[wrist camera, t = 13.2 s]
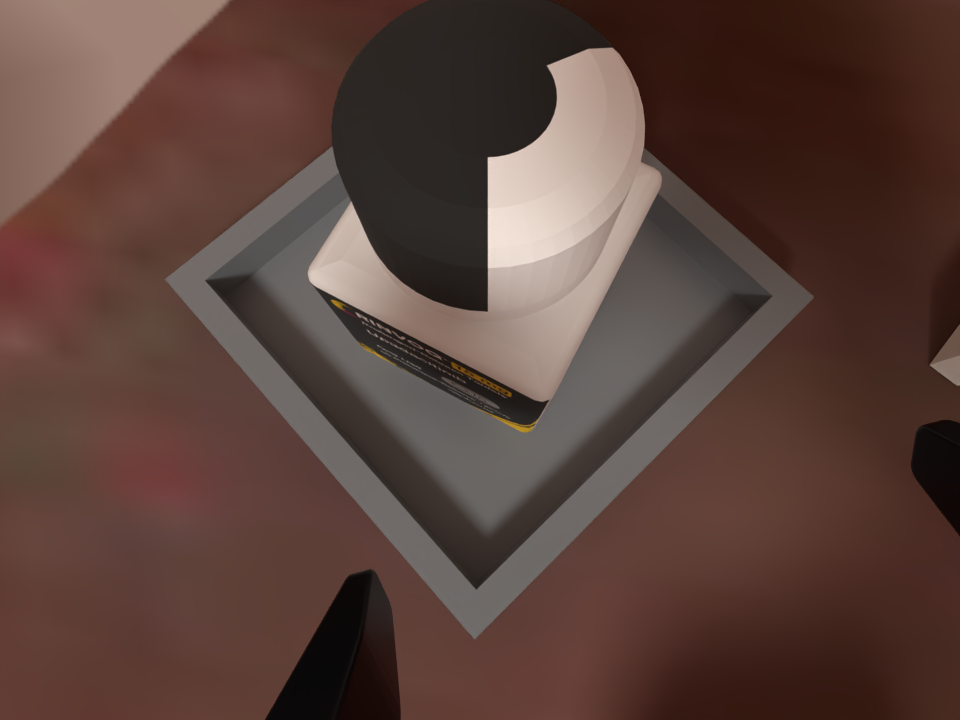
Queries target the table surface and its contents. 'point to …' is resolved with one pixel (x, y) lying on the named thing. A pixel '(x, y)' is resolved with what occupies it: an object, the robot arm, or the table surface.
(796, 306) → the tray
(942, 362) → the bay
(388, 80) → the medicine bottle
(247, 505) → the table surface
